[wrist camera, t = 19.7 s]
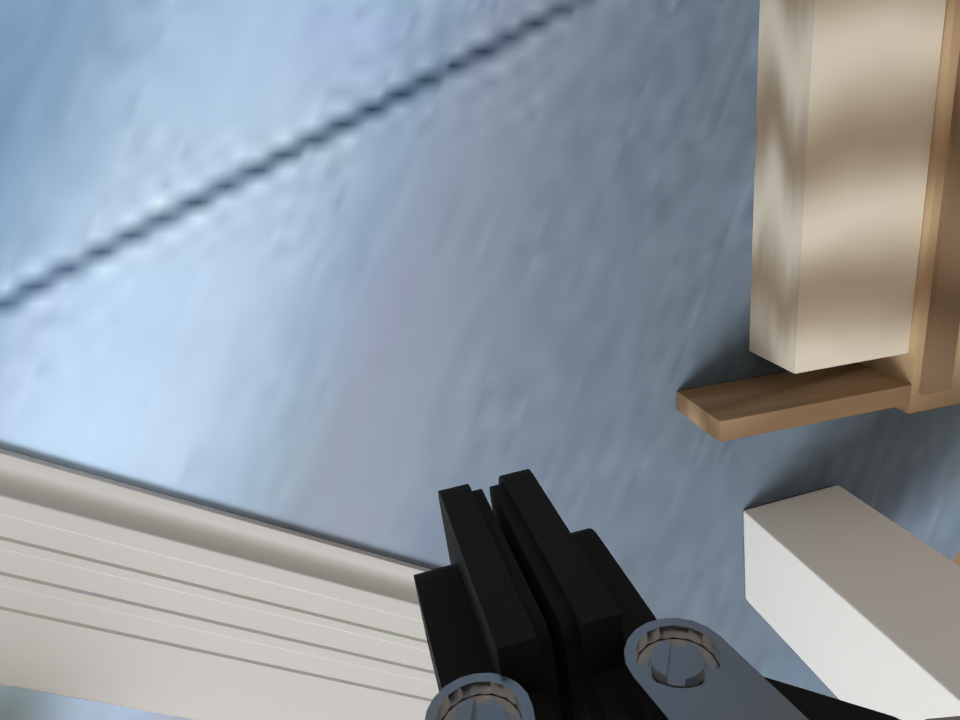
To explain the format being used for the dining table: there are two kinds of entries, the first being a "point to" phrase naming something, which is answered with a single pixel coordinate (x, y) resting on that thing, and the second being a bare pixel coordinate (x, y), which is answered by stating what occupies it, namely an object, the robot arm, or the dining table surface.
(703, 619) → the dining table surface
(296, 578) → the baseboard molding
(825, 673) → the milk
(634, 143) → the dining table surface
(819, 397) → the oak board pocket
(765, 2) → the ash plank
